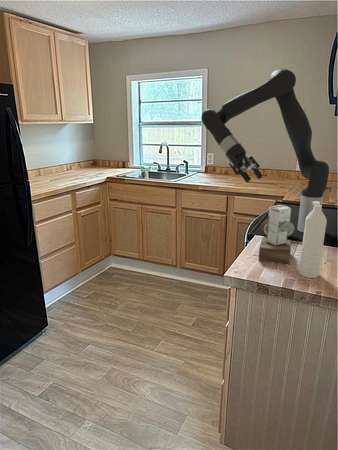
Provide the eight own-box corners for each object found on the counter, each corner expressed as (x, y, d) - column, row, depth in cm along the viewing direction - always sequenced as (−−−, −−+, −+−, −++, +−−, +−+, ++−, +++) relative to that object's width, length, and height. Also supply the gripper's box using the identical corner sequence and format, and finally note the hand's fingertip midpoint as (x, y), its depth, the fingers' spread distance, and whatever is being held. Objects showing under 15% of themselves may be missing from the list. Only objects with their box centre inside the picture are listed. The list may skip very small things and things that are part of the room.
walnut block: (261, 250, 134) (262, 237, 132) (289, 254, 131) (290, 240, 129) (258, 261, 125) (259, 247, 123) (288, 265, 121) (290, 250, 119)
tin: (293, 235, 149) (295, 218, 147) (295, 238, 146) (297, 220, 144) (260, 235, 151) (261, 217, 148) (261, 237, 148) (262, 219, 145)
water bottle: (319, 279, 110) (330, 208, 102) (299, 277, 112) (308, 207, 103) (317, 268, 118) (326, 201, 109) (298, 266, 119) (305, 200, 111)
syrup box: (276, 239, 130) (279, 204, 126) (287, 243, 125) (291, 207, 121) (265, 241, 128) (268, 205, 123) (276, 246, 123) (280, 209, 118)
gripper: (227, 144, 128) (251, 176, 123) (248, 141, 137) (270, 170, 132) (216, 157, 133) (239, 188, 129) (237, 153, 142) (258, 182, 138)
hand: (255, 179), depth 131 cm, fingers open, 8 cm apart
